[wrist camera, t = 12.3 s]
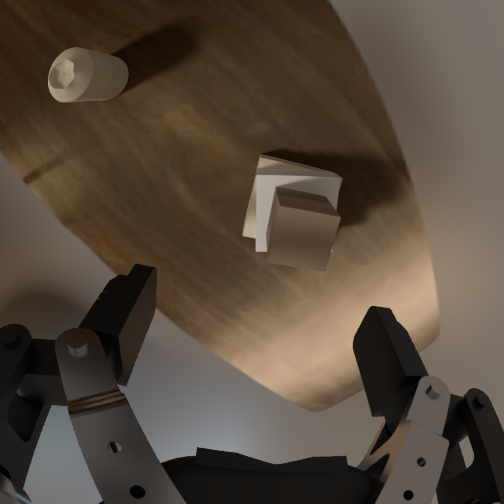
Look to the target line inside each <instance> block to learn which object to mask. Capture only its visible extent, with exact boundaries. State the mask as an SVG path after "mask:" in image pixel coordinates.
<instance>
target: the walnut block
mask: <svg viewBox="0 0 504 504" xmlns="http://www.w3.org/2000/svg"><path fill="white" fill-rule="evenodd" d="M340 219H341V217H340V215H339V214H338V212H337V211H336V210H335V208H334V207H333V206H332V204H331V203H330V202H329V200H328V199H327V197H326V196H322V195H317V194H312V193H307V192H302V191H297V190H291V189H286V188H280V187H275V191H274V196H273V201H272V206H271V211H270V216H269V221H268V226H267V231H266V243H267V260H268V263H273V264H279V265H286V266H292V267H299V268H305V269H312V270H319V271H325V269H326V266H327V263H328V260H329V256H330V253H331V250H332V247H333V243H334V240H335V236H336V233H337V230H338V226H339V223H340Z"/></svg>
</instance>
